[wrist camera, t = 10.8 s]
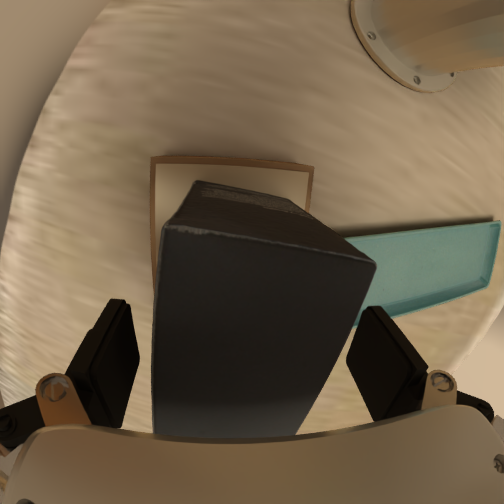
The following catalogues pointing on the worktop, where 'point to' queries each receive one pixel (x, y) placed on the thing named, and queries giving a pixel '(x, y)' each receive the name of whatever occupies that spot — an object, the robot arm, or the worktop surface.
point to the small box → (248, 313)
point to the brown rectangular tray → (221, 172)
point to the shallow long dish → (428, 265)
